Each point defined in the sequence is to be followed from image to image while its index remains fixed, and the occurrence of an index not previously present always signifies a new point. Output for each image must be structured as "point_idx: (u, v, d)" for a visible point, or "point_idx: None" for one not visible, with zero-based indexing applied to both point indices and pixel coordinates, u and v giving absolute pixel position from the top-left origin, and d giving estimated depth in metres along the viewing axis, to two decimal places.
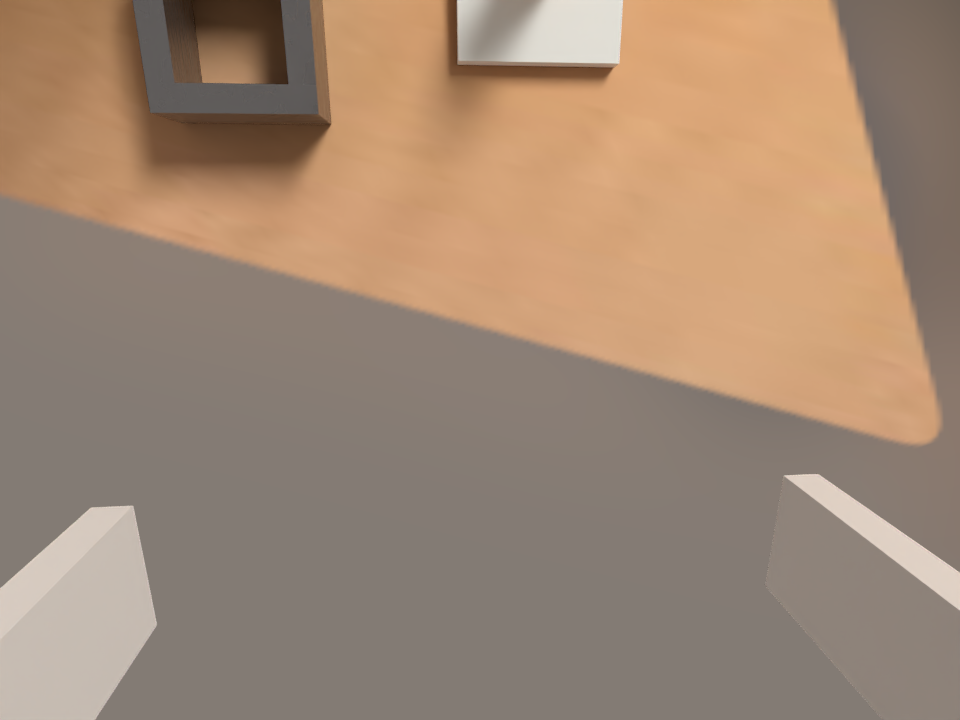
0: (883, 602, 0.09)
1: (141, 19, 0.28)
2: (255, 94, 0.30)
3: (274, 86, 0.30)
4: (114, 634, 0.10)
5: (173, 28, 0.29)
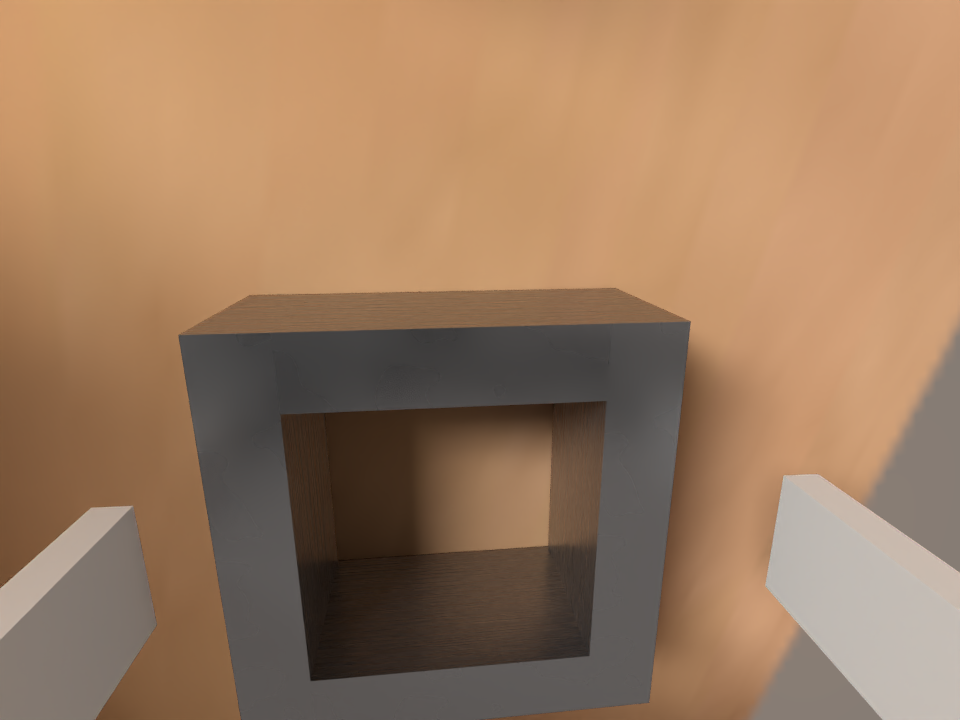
0: (883, 602, 0.09)
1: (454, 711, 0.12)
2: (626, 486, 0.11)
3: (610, 437, 0.11)
4: (114, 634, 0.10)
5: (458, 636, 0.13)
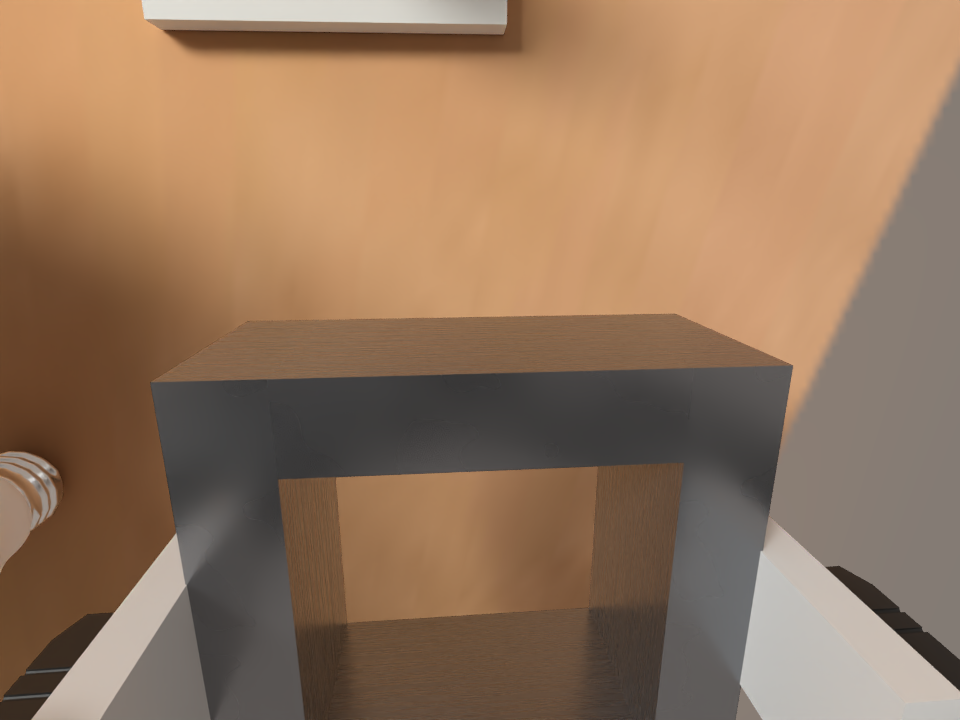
0: None
1: None
2: (704, 564, 0.09)
3: (687, 507, 0.08)
4: None
5: None
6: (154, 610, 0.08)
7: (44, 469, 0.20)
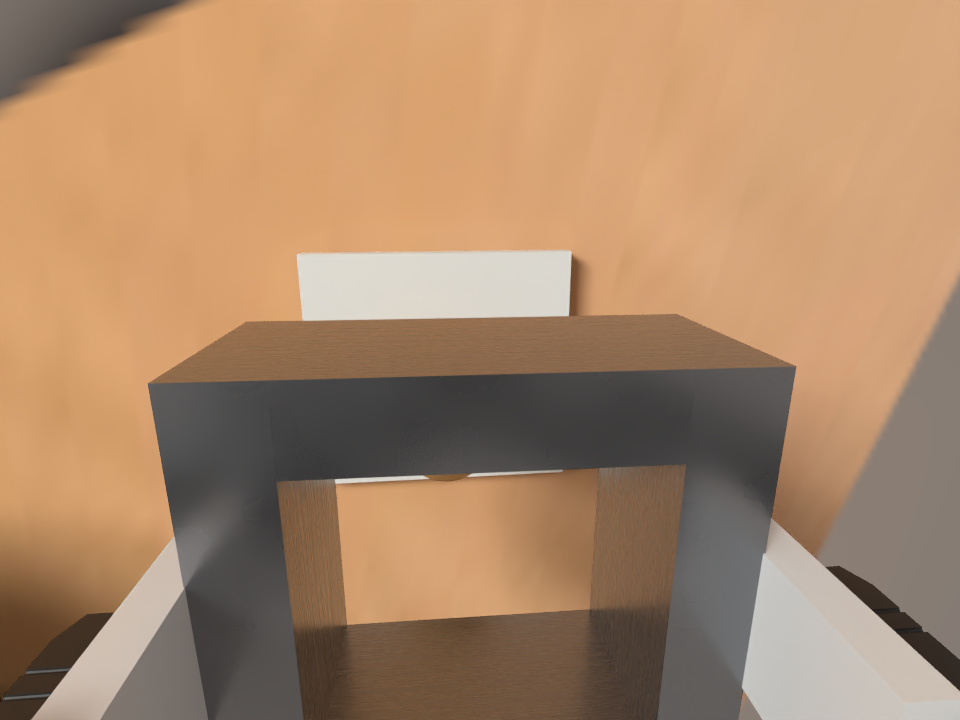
0: None
1: None
2: (706, 566, 0.09)
3: (689, 509, 0.08)
4: None
5: None
6: (154, 610, 0.08)
7: None
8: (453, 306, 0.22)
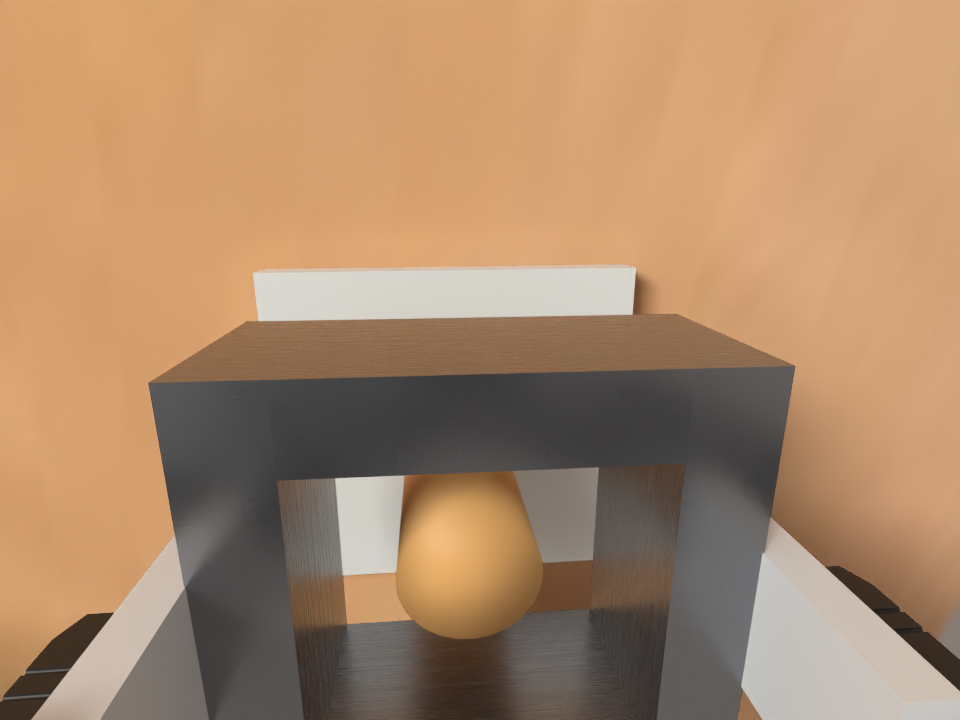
0: None
1: None
2: (705, 566, 0.09)
3: (688, 508, 0.08)
4: None
5: None
6: (154, 610, 0.08)
7: None
8: None
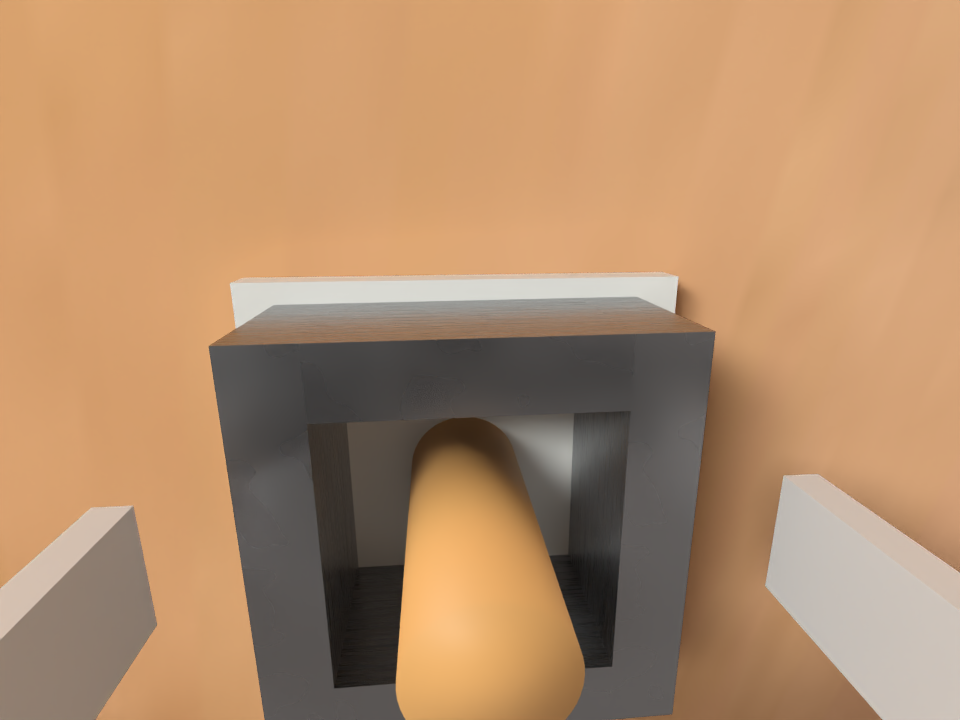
0: (882, 602, 0.09)
1: None
2: (651, 496, 0.11)
3: (634, 447, 0.10)
4: (114, 634, 0.10)
5: None
6: None
7: None
8: None
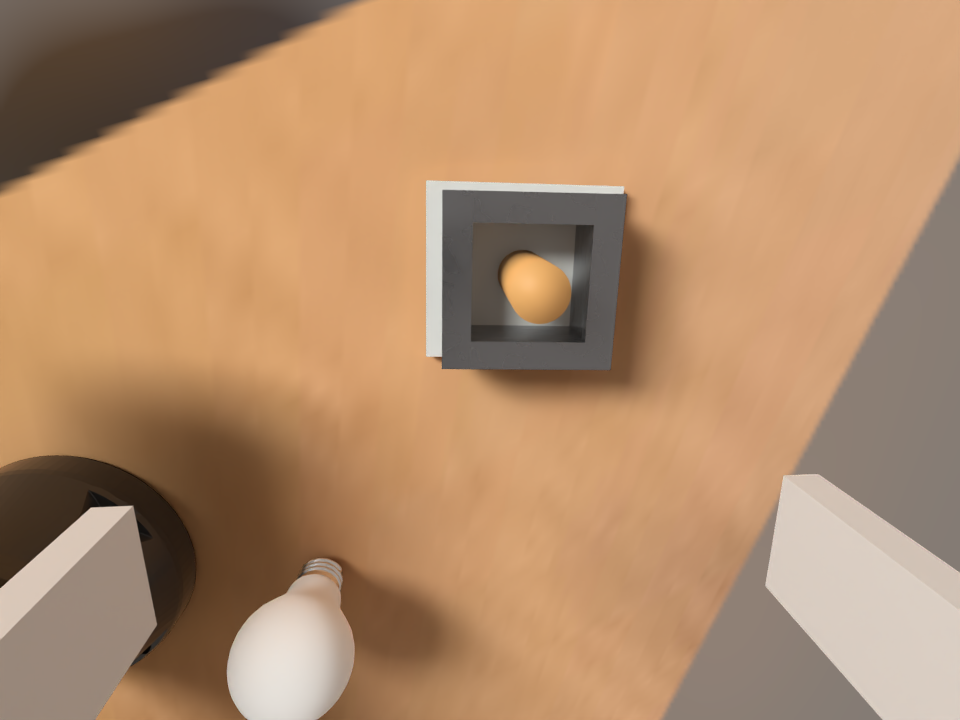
0: (883, 602, 0.09)
1: (527, 363, 0.29)
2: (601, 262, 0.27)
3: (595, 240, 0.27)
4: (114, 634, 0.10)
5: (529, 338, 0.29)
6: None
7: (337, 568, 0.36)
8: (534, 224, 0.31)
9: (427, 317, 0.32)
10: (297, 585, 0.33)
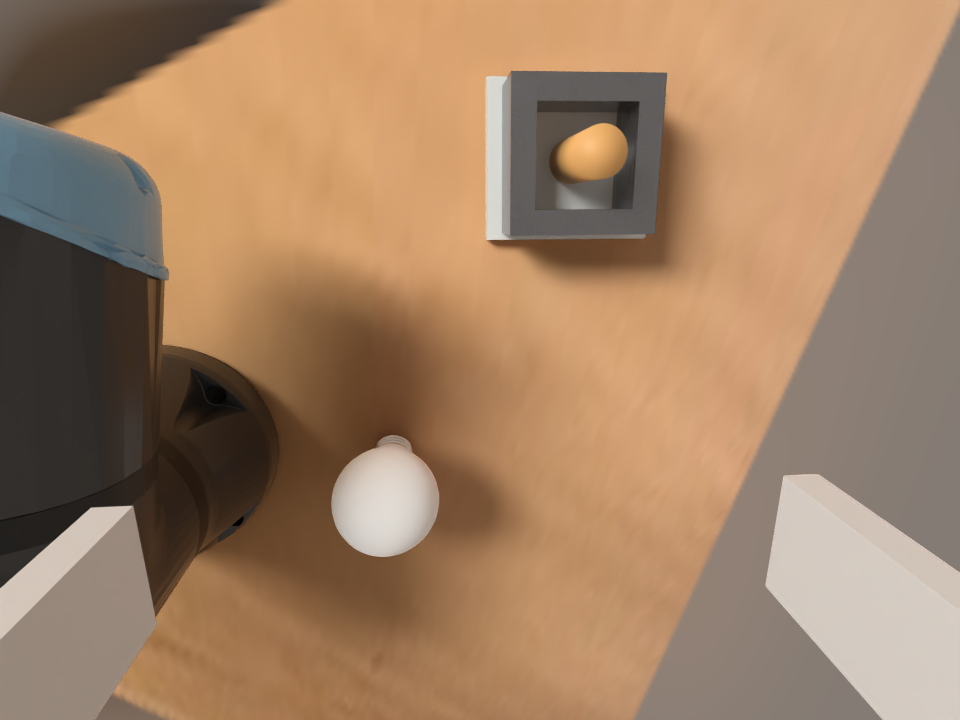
0: (882, 602, 0.09)
1: (583, 229, 0.33)
2: (646, 135, 0.32)
3: (641, 115, 0.32)
4: (114, 634, 0.10)
5: None
6: None
7: (407, 443, 0.40)
8: (581, 115, 0.35)
9: (488, 203, 0.36)
10: None
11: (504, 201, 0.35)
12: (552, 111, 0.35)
